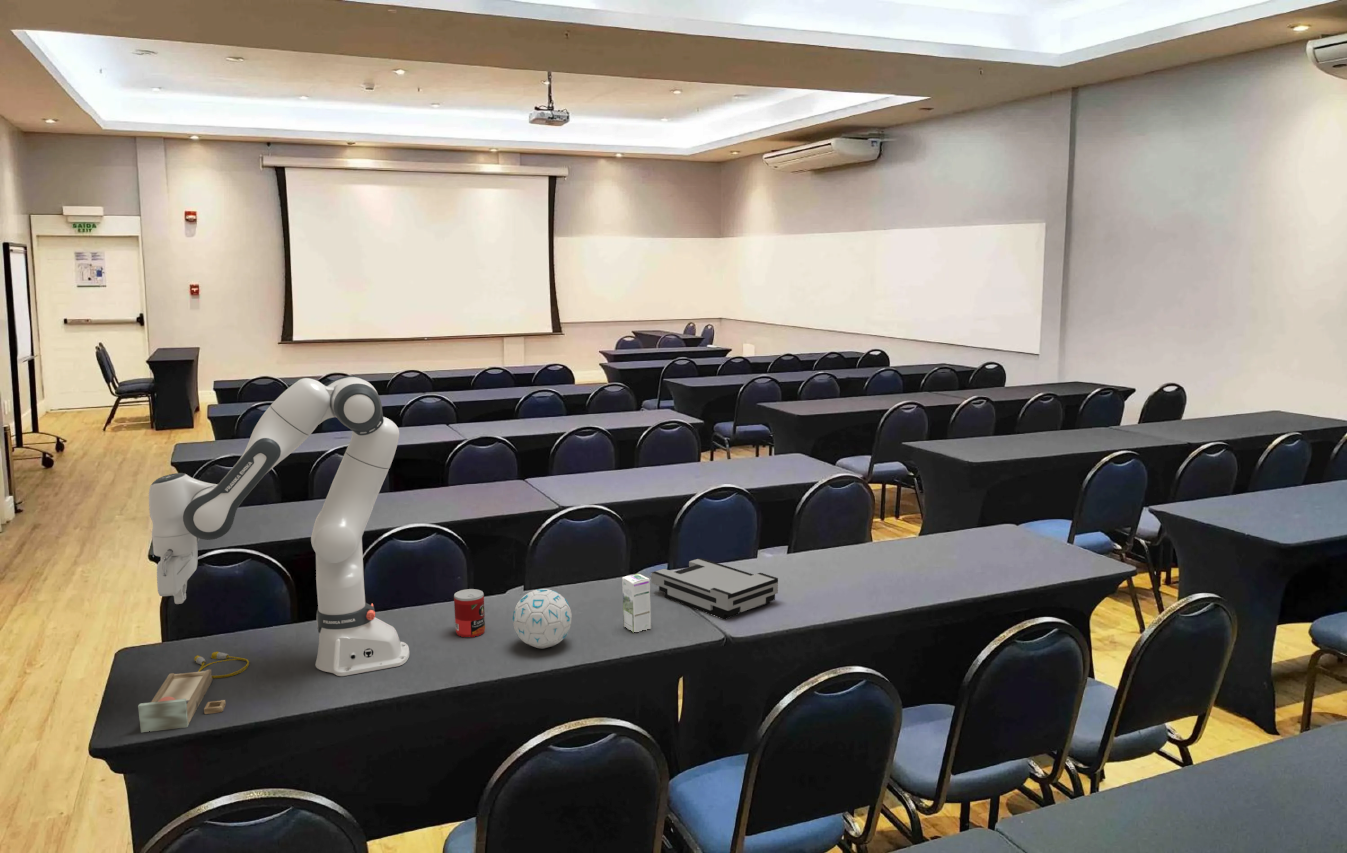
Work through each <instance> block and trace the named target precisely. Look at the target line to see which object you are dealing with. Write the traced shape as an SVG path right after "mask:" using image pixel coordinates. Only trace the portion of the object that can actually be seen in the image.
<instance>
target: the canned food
mask: <svg viewBox="0 0 1347 853" xmlns="http://www.w3.org/2000/svg"><path fill="white" fill-rule="evenodd" d="M484 596H485V594H484V592H483V590H480V589H474V588H469V589H466V588H465V589H461V590H459V591H457V592H455V593H454V595H453V603H454V604H453V607H454V623H455V625H454V626H455V632H456V634H457V636H458V637H460V636H461V638H465V637H471V638H476V637H475V636H477V637H479V635H480V636H482V635H483V634H484V633H485V631H486V618H485V616H486V615H485V614H486V613H485V597H484ZM481 634H482V635H481Z"/></svg>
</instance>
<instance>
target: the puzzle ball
mask: <svg viewBox="0 0 1347 853" xmlns="http://www.w3.org/2000/svg"><path fill="white" fill-rule="evenodd" d="M572 616H573V614H572V610H571V607H570V605H569V602H568V600H567V599H566V598H565V597H564V596H563V595H562V594H560V593H559V592H558V591H555V590H553V589H552V590H551V589H548V588H538V589H535V590H534V589H533V590H531V591H530V592H527V593H526V594H524V595H523V596H522V597H521V598H520V599H519V601H518V602H517V603H516V605H515V608H514V610H513V614H512V624H513V628H514V629H513V630H514V631H515V632H516V635H517V636H518V638H519V639H520V640H521V642H523V643H525V644H527V645H529V646H531V647H534V648H535V649H536V648H537V649H547V648H550V647H554V646H556V645H557V644H560V643H561V642H562V641H563V640H564V639H565V638H566V637H567V635H568V633H569V631H570V628H571V626H572Z"/></svg>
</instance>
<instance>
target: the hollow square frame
mask: <svg viewBox="0 0 1347 853" xmlns="http://www.w3.org/2000/svg"><path fill="white" fill-rule="evenodd" d="M226 705H227V703H226V699H221V700H212V701H207V703H206V704H205V706H204V708H203V711H204V715H209V714H218V713H223V711H224V710H225V707H226Z"/></svg>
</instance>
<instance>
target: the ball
mask: <svg viewBox="0 0 1347 853" xmlns="http://www.w3.org/2000/svg"><path fill="white" fill-rule="evenodd" d="M169 700H176V699H175V698H173V697H163V698H161V699H160V700H159V701H169ZM159 701H158V702H159Z"/></svg>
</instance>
